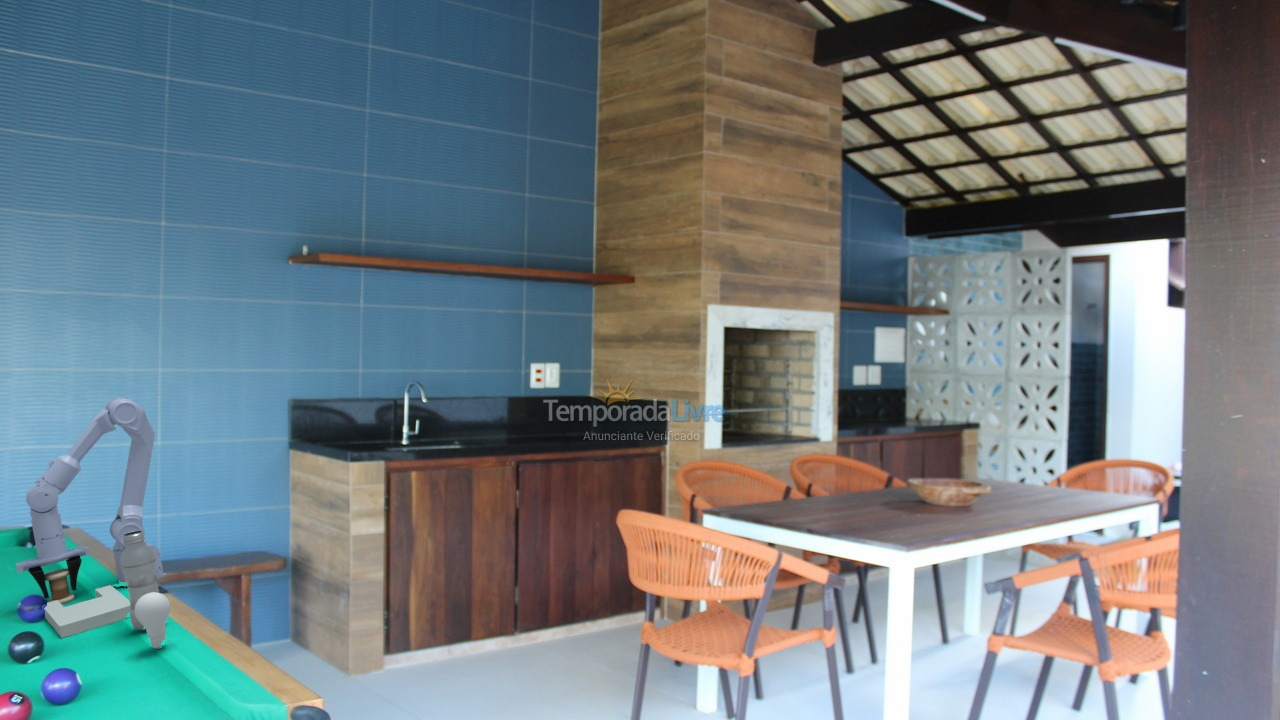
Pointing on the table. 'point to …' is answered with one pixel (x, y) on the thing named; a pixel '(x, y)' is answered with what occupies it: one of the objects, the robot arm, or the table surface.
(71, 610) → the notched board
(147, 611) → the lightbulb
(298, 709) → the table surface
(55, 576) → the bobbin
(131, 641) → the table surface
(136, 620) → the plastic bottle
